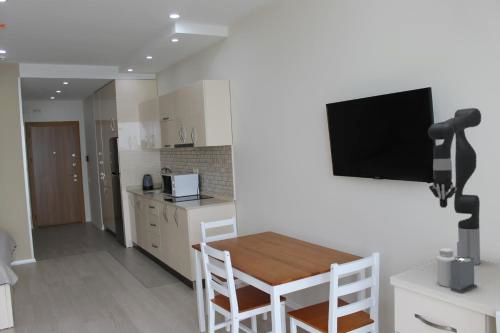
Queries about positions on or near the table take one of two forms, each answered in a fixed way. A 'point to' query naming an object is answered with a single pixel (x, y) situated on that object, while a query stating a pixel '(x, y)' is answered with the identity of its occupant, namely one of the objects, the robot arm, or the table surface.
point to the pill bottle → (444, 266)
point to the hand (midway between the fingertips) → (443, 207)
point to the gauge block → (462, 274)
